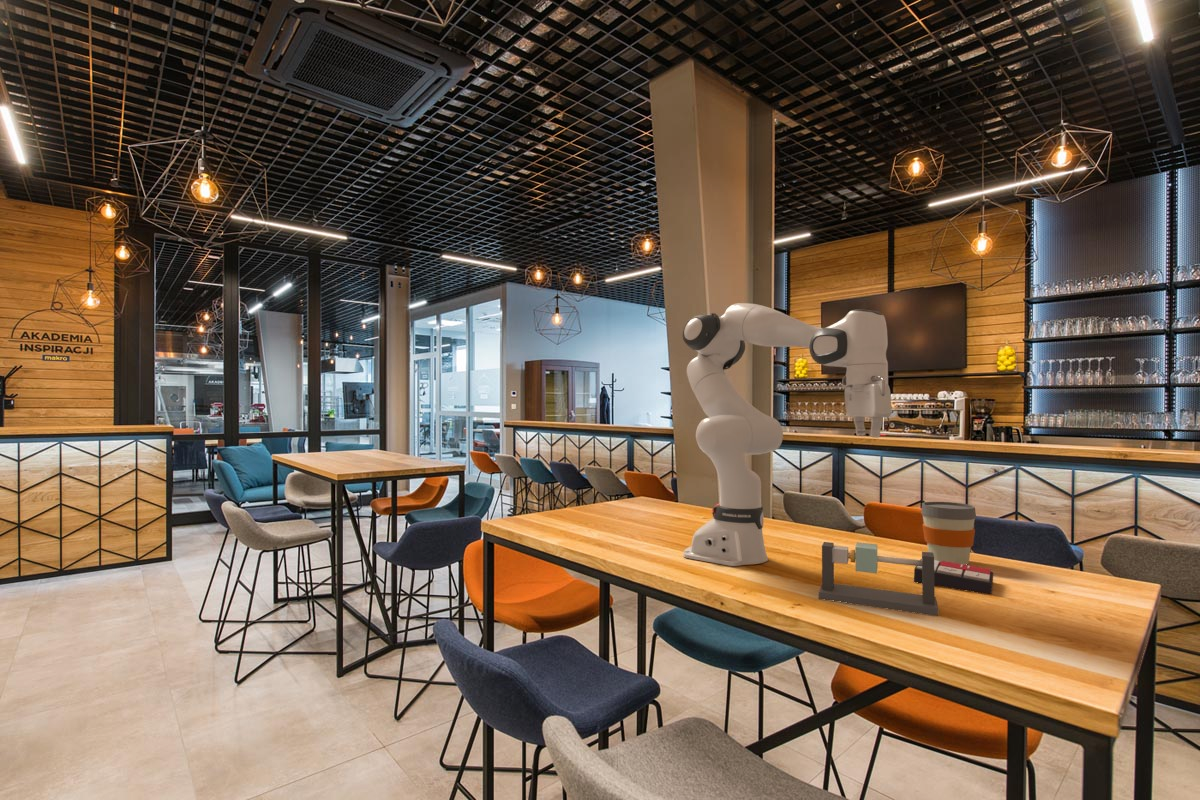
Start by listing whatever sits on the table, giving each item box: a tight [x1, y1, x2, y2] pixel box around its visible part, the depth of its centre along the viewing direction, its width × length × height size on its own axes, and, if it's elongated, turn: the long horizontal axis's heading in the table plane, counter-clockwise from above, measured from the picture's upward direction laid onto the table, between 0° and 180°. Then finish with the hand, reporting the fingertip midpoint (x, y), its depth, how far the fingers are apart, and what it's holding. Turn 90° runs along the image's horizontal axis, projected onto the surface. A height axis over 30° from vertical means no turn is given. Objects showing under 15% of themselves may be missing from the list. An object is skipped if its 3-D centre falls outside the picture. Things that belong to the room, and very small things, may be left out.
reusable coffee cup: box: [920, 501, 977, 565], centre depth 152 cm, size 13×13×15 cm
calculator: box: [913, 558, 994, 595], centre depth 134 cm, size 11×4×15 cm
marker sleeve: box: [854, 541, 879, 574], centre depth 121 cm, size 4×5×5 cm
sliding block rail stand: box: [818, 541, 939, 617], centre depth 120 cm, size 22×8×11 cm, turn 63°
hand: (867, 436), depth 134 cm, fingers open, 8 cm apart
